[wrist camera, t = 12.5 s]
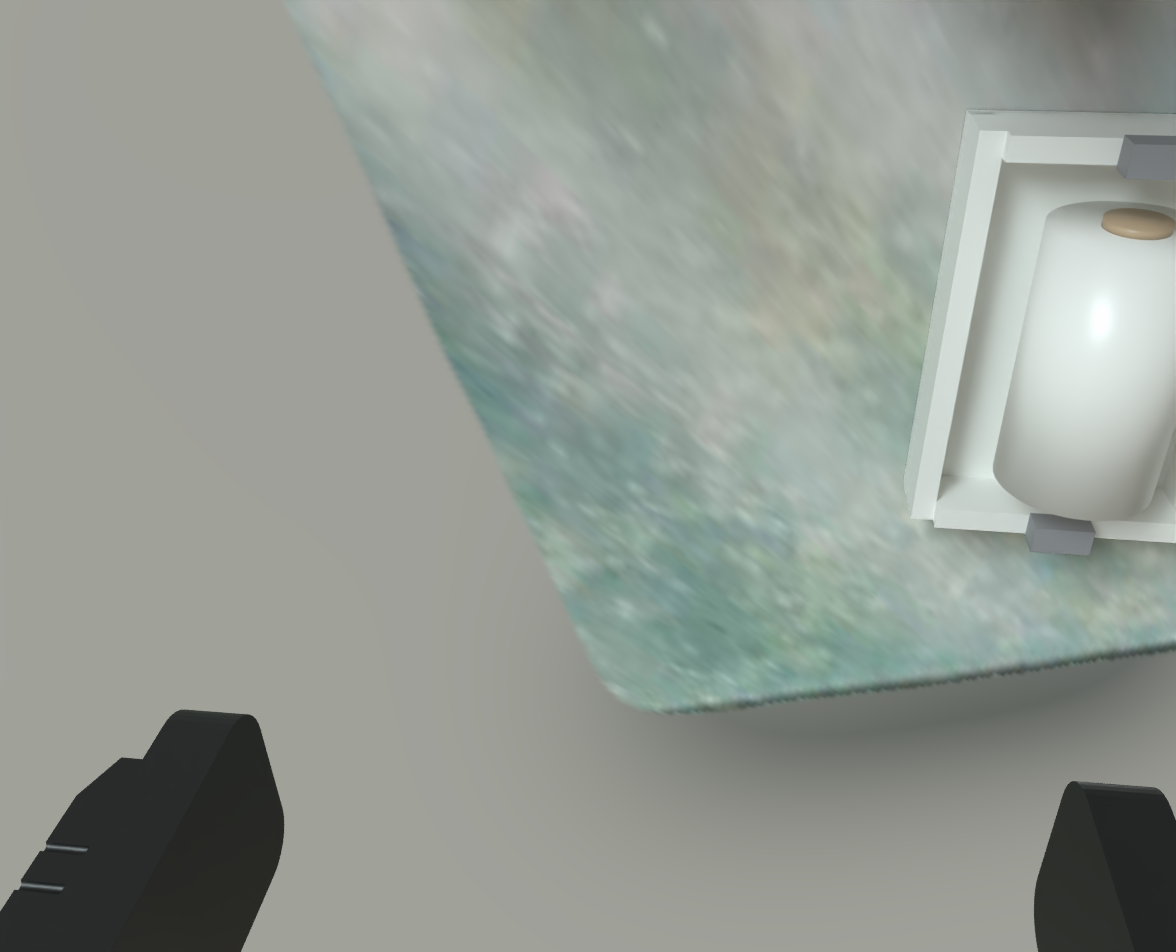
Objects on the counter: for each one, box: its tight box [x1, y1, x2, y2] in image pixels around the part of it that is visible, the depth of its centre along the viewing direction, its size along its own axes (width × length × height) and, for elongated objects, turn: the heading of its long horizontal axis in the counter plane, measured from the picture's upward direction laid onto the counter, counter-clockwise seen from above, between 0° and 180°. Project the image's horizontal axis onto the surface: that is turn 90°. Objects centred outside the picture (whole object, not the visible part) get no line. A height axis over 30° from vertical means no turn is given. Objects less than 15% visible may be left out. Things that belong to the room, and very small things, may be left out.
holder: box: [903, 110, 1176, 556], centre depth 37 cm, size 14×10×4 cm
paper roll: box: [993, 201, 1176, 521], centre depth 36 cm, size 10×5×5 cm, turn 1°
